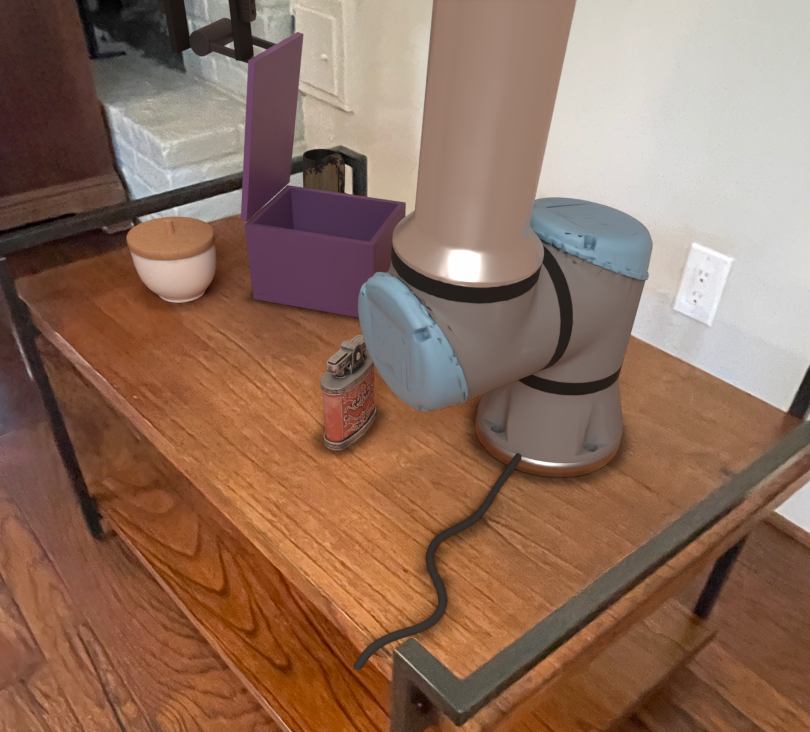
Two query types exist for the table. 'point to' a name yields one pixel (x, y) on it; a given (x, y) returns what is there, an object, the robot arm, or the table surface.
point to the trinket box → (174, 256)
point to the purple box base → (319, 247)
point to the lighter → (348, 394)
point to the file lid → (262, 109)
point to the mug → (324, 170)
